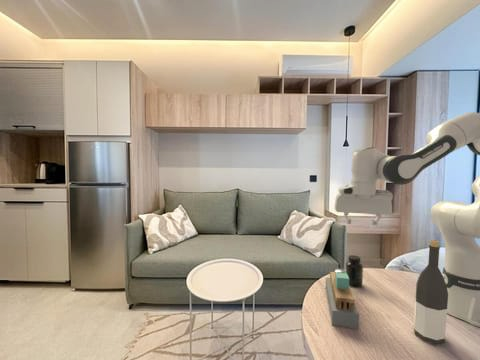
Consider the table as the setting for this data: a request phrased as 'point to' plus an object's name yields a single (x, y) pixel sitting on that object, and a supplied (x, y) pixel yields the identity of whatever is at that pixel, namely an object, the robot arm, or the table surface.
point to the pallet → (341, 295)
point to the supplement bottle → (354, 271)
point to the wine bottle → (431, 301)
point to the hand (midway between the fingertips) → (361, 224)
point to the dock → (341, 311)
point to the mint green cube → (342, 281)
